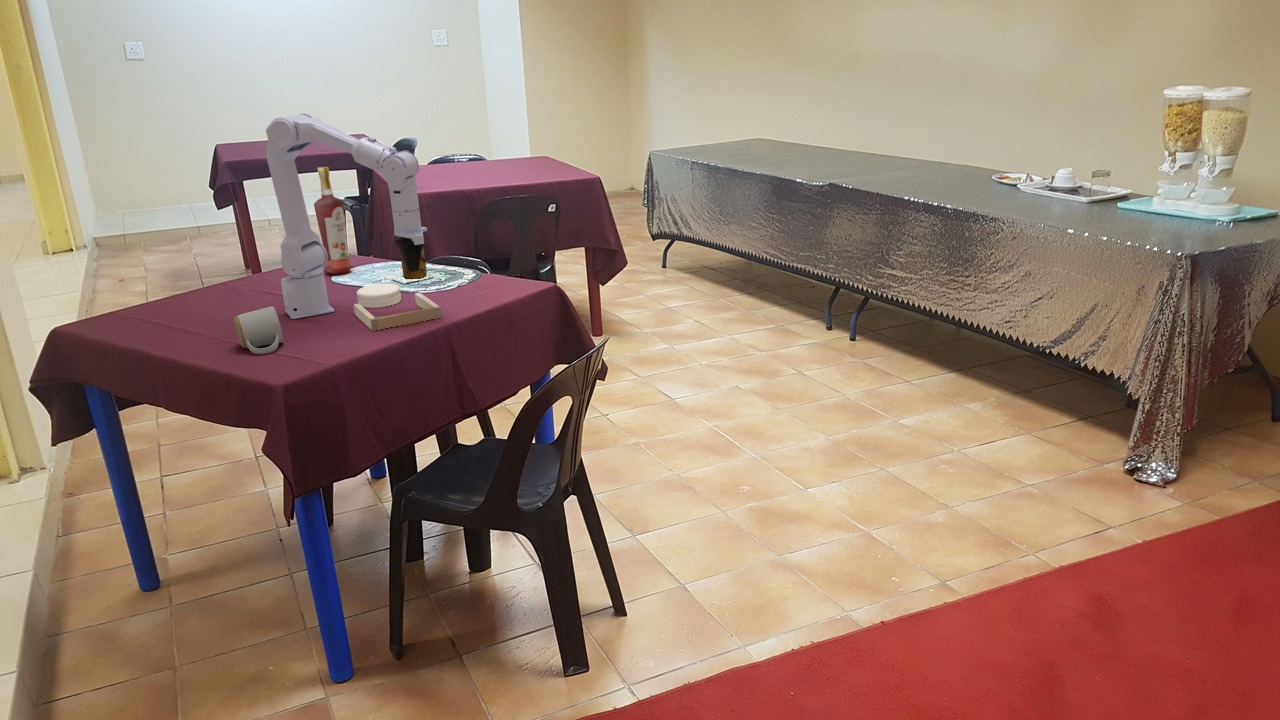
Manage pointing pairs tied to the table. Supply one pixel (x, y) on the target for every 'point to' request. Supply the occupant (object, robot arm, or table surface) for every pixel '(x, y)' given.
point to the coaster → (379, 295)
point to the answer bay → (400, 315)
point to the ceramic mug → (259, 330)
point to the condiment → (416, 274)
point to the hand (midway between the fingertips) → (413, 271)
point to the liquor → (332, 226)
